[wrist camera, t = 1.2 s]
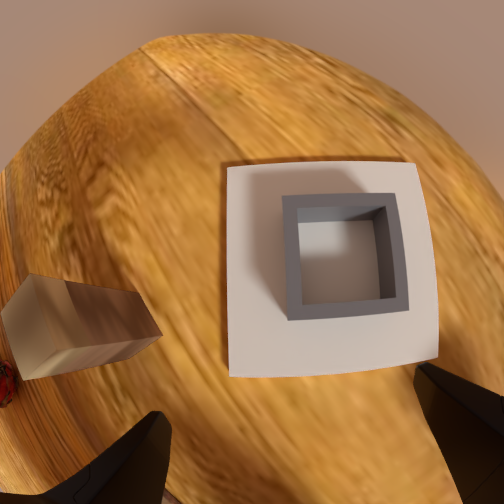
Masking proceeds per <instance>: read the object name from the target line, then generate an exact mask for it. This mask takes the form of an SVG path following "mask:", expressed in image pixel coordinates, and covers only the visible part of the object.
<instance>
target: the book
mask: <svg viewBox="0 0 504 504" xmlns="http://www.w3.org/2000/svg"><path fill="white" fill-rule="evenodd" d="M162 504H180V503H179V502H178V501H177V500H176V499H175V498H174V497H173V496H172V495H171V494H170V493H169V492H168V491H167V490H166V489H165V488H164V493H163V498H162Z"/></svg>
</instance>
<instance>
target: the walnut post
mask: <svg viewBox="0 0 504 504" xmlns="http://www.w3.org/2000/svg"><path fill="white" fill-rule="evenodd" d="M0 314H1V317H2V321H3V325H4V328H5V332H6V335H7V338H8V341H9V344H10V347H11V350H12V353H13V356H14V359H15V362H16V364H17V367H18V369H19V372H20V374H21V377H22V379H23V381H24V380H30V379H36V378H42V377H47V376H53V375H58V374H63V373H68V372H73V371H78V370H83V369H87V368H92V367H96V366H101V365H105V364H109V363H113V362H117V361H121V360H125V359H129V358H131V357H132V356H134V355H135V354H136V353H138V352H139V351H141V350H142V349H144V348H145V347H147V346H148V345H150V344H151V343H153V342H154V341H156V340H157V339H158V338H160V337H161V336H163V335H162V333H161V331H160V330H159V328H158V326H157V325H156V323H155V321H154V319H153V318H152V316H151V314H150V312H149V311H148V309H147V307H146V305H145V303H144V302H143V300H142V298H141V296H140V294H139V293H137V292H131V291H124V290H117V289H111V288H105V287H99V286H93V285H87V284H82V283H76V282H71V281H66V280H60V279H55V278H50V277H45V276H41V275H36V274H31V273H30V274H29V275H28V276H27V278H26V279H25V280H24V281H23V283H22V284H21V285H20V287H19V288H18V289H17V290H16V292H15V293H14V294H13V296H12V297H11V299H10V300H9V301H8V303H7V304H6V305H5V307H4V308H3V310H2V311H1V313H0Z"/></svg>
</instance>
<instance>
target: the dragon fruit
mask: <svg viewBox="0 0 504 504" xmlns="http://www.w3.org/2000/svg"><path fill="white" fill-rule="evenodd" d="M12 368H13V367H12V366H11V365H10V363H9V362H8V361H7V360H5V361H2V360H1V359H0V408H4V407H7V404H9V403H10V402H11V401H12V398H11V397H12V395H13V393H14V392H15V390H16V388H17V387H18V376H17V377H16V378H15V377H14V376H12Z"/></svg>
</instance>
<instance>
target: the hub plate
mask: <svg viewBox="0 0 504 504" xmlns="http://www.w3.org/2000/svg"><path fill="white" fill-rule="evenodd" d="M227 312H228V353H229V377H297V376H315V375H328V374H340V373H349V372H358V371H366V370H374V369H380V368H387V367H393V366H399V365H405V364H410V363H415V362H420V361H425V360H429V359H434V358H438V342H439V320H438V295H437V281H436V270H435V261H434V253H433V246H432V239H431V233H430V227H429V221H428V216H427V211H426V206H425V201H424V197H423V192H422V188H421V184H420V180H419V176H418V172H417V169H416V165H415V163H403V162H378V161H318V162H292V163H274V164H260V165H247V166H236V167H227Z"/></svg>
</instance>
